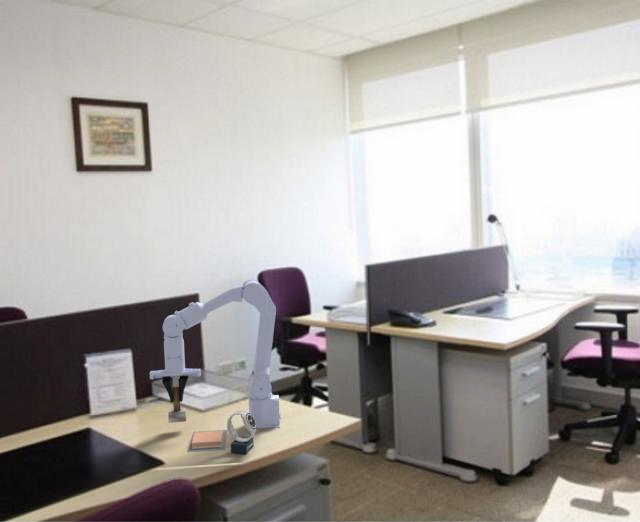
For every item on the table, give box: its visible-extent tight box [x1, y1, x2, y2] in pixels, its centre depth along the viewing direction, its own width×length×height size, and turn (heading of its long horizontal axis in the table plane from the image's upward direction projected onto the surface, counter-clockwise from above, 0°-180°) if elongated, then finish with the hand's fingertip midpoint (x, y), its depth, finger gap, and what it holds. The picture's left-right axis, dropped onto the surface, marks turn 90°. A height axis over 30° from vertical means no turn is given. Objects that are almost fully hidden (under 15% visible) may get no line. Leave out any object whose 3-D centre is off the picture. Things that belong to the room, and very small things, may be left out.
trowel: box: [167, 385, 187, 424], centre depth 181 cm, size 5×3×10 cm, turn 102°
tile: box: [192, 430, 223, 449], centre depth 172 cm, size 8×2×8 cm
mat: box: [187, 429, 229, 453], centre depth 174 cm, size 10×15×1 cm, turn 5°
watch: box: [226, 410, 258, 455], centre depth 166 cm, size 6×8×11 cm
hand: (176, 401), depth 181 cm, fingers closed on trowel, 2 cm apart
